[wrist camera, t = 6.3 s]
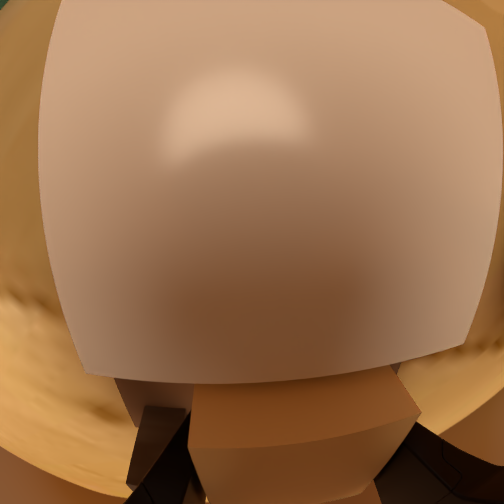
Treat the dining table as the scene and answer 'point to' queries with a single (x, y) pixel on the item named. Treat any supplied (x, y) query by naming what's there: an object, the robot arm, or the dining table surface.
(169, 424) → the roller bed
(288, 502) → the support block
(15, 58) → the dining table surface
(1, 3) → the alien figure
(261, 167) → the slab
